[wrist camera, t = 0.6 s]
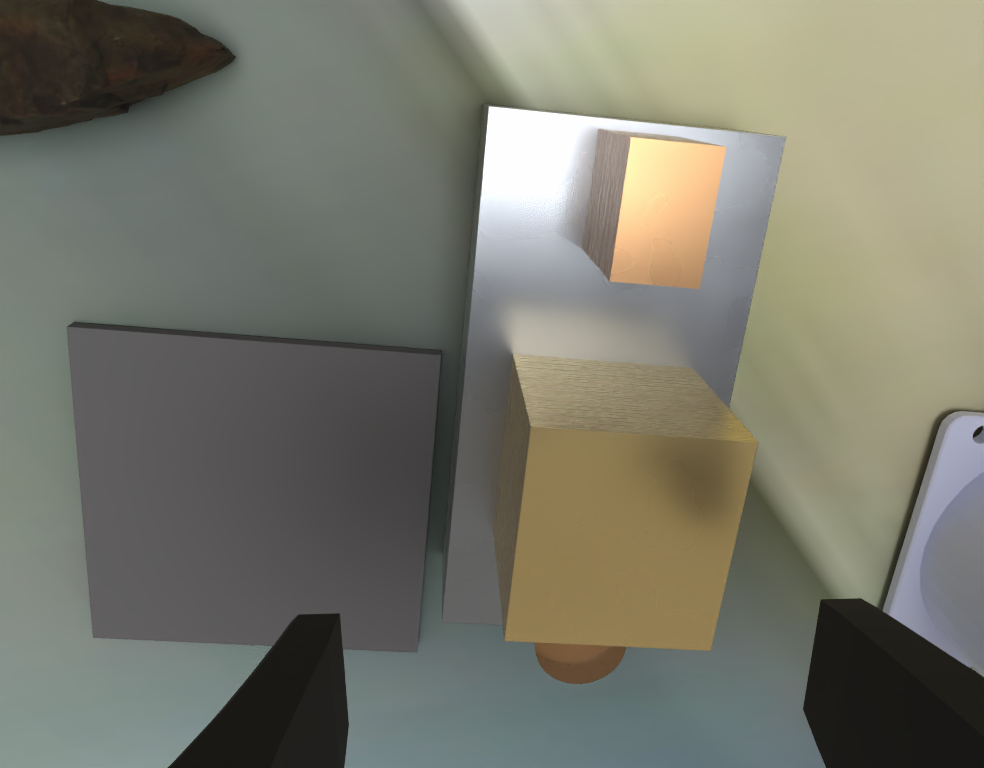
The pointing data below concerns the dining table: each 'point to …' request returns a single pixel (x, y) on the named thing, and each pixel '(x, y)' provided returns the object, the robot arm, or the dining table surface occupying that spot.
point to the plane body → (593, 292)
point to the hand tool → (92, 60)
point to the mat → (252, 484)
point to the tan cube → (616, 504)
